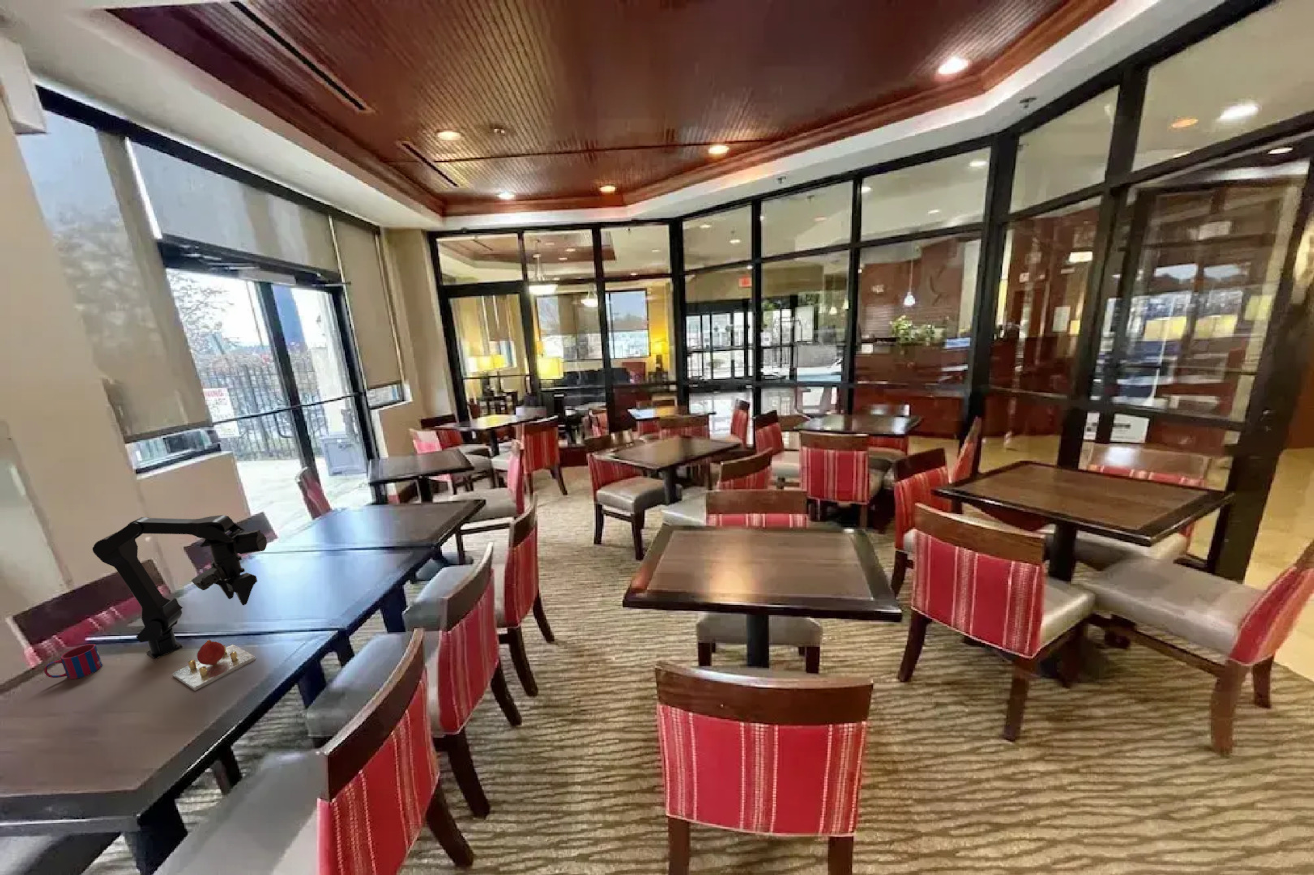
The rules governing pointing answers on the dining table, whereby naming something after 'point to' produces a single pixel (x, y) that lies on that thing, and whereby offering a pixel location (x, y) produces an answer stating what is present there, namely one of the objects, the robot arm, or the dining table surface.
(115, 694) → the dining table surface
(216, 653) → the red rounded piece
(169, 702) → the dining table surface
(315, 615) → the dining table surface
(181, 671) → the plate
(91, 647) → the mug
